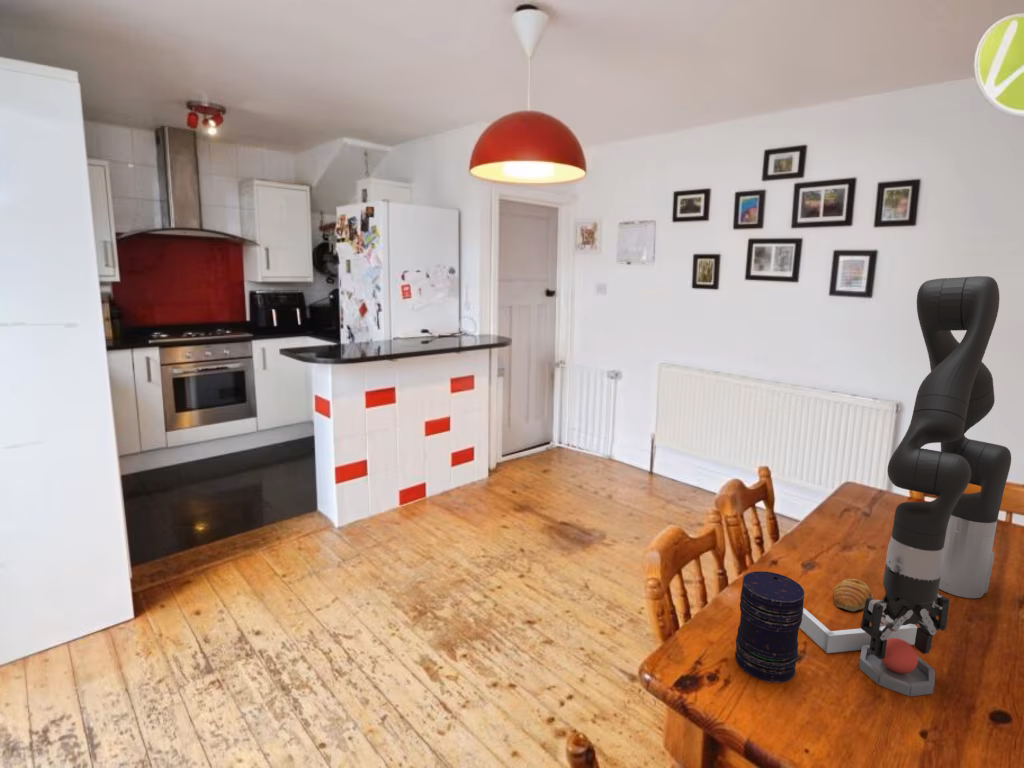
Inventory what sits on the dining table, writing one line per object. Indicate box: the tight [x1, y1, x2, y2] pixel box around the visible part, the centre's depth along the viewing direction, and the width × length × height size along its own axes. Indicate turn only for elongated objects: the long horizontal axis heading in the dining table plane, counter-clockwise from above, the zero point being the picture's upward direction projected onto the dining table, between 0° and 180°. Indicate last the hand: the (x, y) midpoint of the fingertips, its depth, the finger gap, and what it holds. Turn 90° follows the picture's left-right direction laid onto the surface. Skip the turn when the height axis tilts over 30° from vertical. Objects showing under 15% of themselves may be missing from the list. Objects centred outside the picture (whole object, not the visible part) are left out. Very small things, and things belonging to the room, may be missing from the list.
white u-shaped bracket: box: [799, 607, 919, 654], centre depth 108 cm, size 18×9×4 cm, turn 99°
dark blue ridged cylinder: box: [734, 570, 805, 684], centre depth 99 cm, size 10×10×15 cm
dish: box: [858, 645, 936, 697], centre depth 98 cm, size 10×10×2 cm
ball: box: [881, 638, 919, 674], centre depth 97 cm, size 6×6×6 cm
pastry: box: [833, 578, 874, 612], centre depth 119 cm, size 9×7×4 cm
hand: (899, 653), depth 97 cm, fingers open, 8 cm apart
